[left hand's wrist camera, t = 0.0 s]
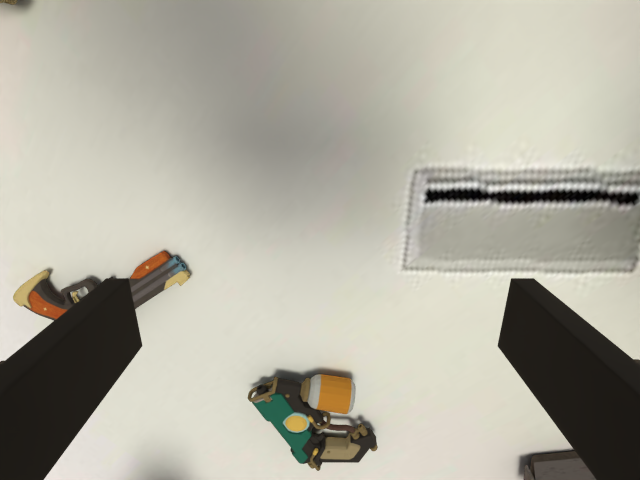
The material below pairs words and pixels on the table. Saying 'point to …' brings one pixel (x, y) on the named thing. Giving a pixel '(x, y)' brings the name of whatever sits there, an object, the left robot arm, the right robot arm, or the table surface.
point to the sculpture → (8, 1)
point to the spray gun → (313, 418)
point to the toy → (557, 467)
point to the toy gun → (142, 282)
